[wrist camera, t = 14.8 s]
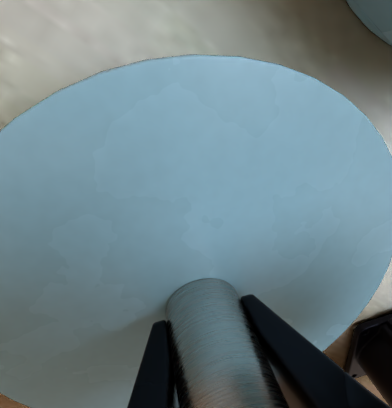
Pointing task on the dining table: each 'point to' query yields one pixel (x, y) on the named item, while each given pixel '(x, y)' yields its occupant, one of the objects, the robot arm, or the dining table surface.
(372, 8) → the pot
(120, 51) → the dining table surface
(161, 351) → the robot arm
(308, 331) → the lid
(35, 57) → the dining table surface
